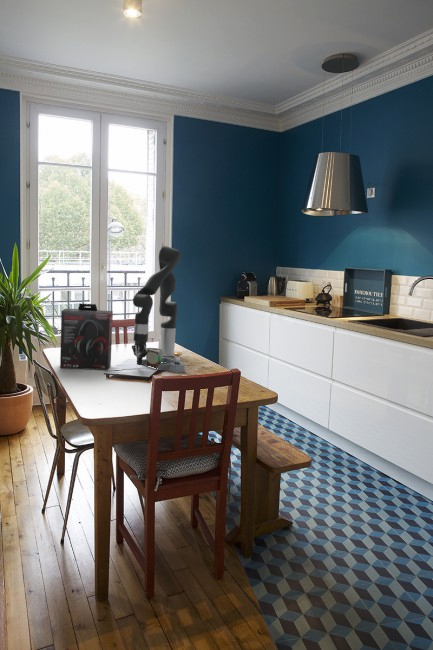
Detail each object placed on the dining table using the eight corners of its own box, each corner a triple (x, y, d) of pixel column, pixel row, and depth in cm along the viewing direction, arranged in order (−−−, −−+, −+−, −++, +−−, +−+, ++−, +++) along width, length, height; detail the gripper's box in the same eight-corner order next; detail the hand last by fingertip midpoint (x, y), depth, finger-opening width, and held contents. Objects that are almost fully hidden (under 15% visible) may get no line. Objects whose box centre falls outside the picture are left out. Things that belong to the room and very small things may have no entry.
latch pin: (171, 363, 268) (171, 352, 267) (177, 362, 271) (178, 352, 270) (176, 364, 265) (177, 354, 264) (182, 364, 268) (183, 353, 267)
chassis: (141, 364, 278) (141, 357, 277) (165, 362, 289) (165, 355, 289) (168, 373, 261) (169, 366, 260) (192, 370, 272) (193, 363, 272)
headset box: (58, 368, 255) (60, 303, 251) (63, 363, 267) (66, 301, 264) (107, 370, 257) (111, 306, 254) (110, 365, 270) (113, 304, 266)
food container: (167, 369, 272) (168, 350, 270) (158, 370, 267) (159, 351, 266) (153, 364, 280) (154, 347, 279) (144, 365, 276) (145, 347, 275)
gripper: (127, 330, 267) (126, 362, 269) (142, 334, 258) (140, 367, 260) (139, 330, 272) (137, 361, 274) (154, 333, 263) (152, 366, 265)
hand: (139, 364), depth 267 cm, fingers closed
